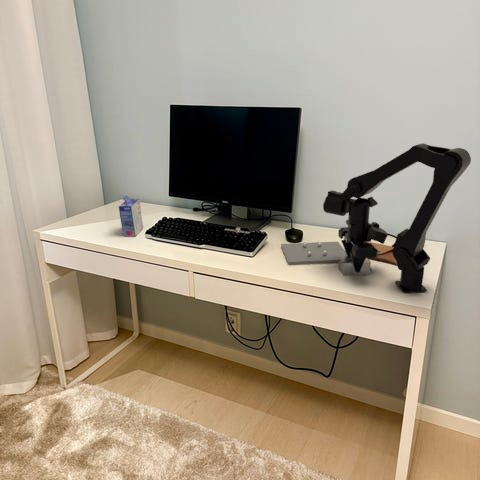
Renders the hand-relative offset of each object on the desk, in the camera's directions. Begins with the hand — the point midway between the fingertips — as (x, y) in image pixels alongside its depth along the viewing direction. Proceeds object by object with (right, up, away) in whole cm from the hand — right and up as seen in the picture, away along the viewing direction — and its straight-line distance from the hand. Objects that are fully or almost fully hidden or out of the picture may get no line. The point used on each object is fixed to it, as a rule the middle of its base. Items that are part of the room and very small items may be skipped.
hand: (354, 268), depth 131 cm
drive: (0, -1, 0) cm, 1 cm away
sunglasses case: (+11, +2, +11) cm, 15 cm away
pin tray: (-10, +4, +14) cm, 18 cm away
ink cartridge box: (-76, +11, +40) cm, 87 cm away
